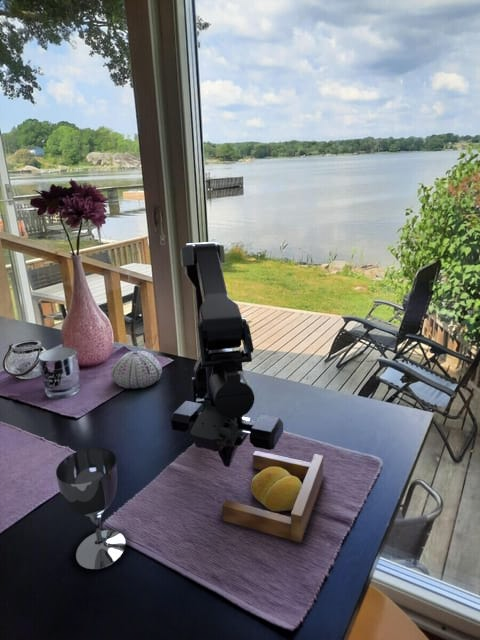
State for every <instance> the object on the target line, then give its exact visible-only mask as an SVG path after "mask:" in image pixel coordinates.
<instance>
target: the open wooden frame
mask: <svg viewBox="0 0 480 640" xmlns="http://www.w3.org/2000/svg"><path fill="white" fill-rule="evenodd" d="M268 467H281V468H283V469H285V470H286V471H288V472H289V473H290V474H291V475H292V476H295V477H297V478H298V479H299V480H303V482H302V487H301V490H300V492H299V495H298V497H297V500H296V502H295V505H294V507H293V510H291V513H290V516H289V515H284V514H280V513H278V512H273V511H270V510H265V509H261V508H258V507H254V506H251V505H246V504H243V503H240V502H235V501H231V500H228V499H225V500H224V502H223V504H222V505H221V509H222V510H221V512H222V521H224V522H227V523H230V524H234V525H237V526H240V527H245V528H248V529H251V530H255V531H257V532H258V531H259V532H262V533H265V534H269V535H271V536H276V537H279V538H283V539H287V540H289V541H293V542H297V543H302V541H303V538H304V535H305V533H306V529H307V527H308V524H309V521H310V517H311V515H312V512H313V509H314V506H315V503H316V500H317V497H318V494H319V491H320V488H321V486H322V482H323V480H324V455H322V454H318V453H314V454H313V457H312V459H311V462H310V461H305V460H301V459H297V458H291V457H286V456H282V455H277V454H274V453H269V452H265V451H259V450H254V452H253V454H252V468H253V469H256V470H260V471H262V470H264V469H266V468H268Z"/></svg>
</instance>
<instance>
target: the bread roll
mask: <svg viewBox="0 0 480 640" xmlns="http://www.w3.org/2000/svg"><path fill="white" fill-rule="evenodd" d="M302 484H303V482H302V481H301V479H298V478H297V477H295V476H292V475H291V474H290V473H289V472H288V471H286V470H285V469H283V468H281V467H268V468H266V469H264V470H260V472H258V473H257V474H255V475H254V476H253V478H252V479H251V486H250V491H251V493H252V495H253V497H254V498H255V499H256V500H257V501H258V502H259V503H260V504H262V505H263V506H264V507H265V508H266V509H267V510H268V511H270V512H273V513H279V512H287V511H292V510H293V507H294V505H295V502H296V500H297V497H298V495H299V492H300V490H301V487H302Z"/></svg>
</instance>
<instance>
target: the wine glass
mask: <svg viewBox="0 0 480 640" xmlns="http://www.w3.org/2000/svg"><path fill="white" fill-rule="evenodd" d="M55 475H56V481H57V482H56V483H57V485H58V490H59V492H60V495H61V497H62V499H63V501H64V503H65V505H66V507H67V508H68V509H69V510H70V511H71V512H72V513H74V514H76V515H78V516H80V517H84V518H87V519H89V521H90V522H91V524H92V527H93V529H94V533H92V534H90V535H89V536H87V537H86V538H84V539H83V540H82V542H81V543H80V544H79V545H78V547H77V549H76V553H75V560H76V562H77V564H78V565H79V566H80V567H82V568H84V569H86V570H100V569H104V568H107V567H109V566H111V565H112V564H114V563H116V561H118V560H119V559H120V558H121V556H122V555H123V554H124V552H125V549H126V545H127V543H126V542H127V541H126V538H125V537H124V535H123V534H122V533H120V532H119V531H117V530H113V529H112V530H111V529H105V530H102V524H101V523H102V516H103V514H104V512H105V511H106V510H107V509H108V508H109V507H110V506H111V505H112V503H113V501H114V500H115V499H116V495H117V491H118V483H119V470H118V462H117V456H116V455H115V453H114V452H113V451H111V450H109V449H108V448H103V447H89V448H85V449H84V448H83V449H79V450H77V451H75V452H73V453H71V454H69V455H68V456H66V457H65V458H64V459H62V461H60V462H59V464H58V465H57V467H56V470H55Z"/></svg>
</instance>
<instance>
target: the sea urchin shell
mask: <svg viewBox="0 0 480 640" xmlns="http://www.w3.org/2000/svg"><path fill="white" fill-rule="evenodd" d="M162 367H163V366H162V364H161V363H160V361H159V360H158V359H157V357H155V355H153V354H152V353H150V352H148V351H147V350H146V351H145V350H137V351H129V352H127V353H125V354H124V355H122V356H121V357H120V358H119V359H118V360H116V363H114V366H112V370H111V373H110V376H111V378H112V381H114V383H115V384H116V385H118V386H119V387H122V388H124V389H128V390H129V389H132V390H133V389H141V388H142V389H144V388H146V387H150V386H152V385H153V384H155V383H156V382H158V381H159V380H160V379H161V377H162V373H163V368H162Z"/></svg>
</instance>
